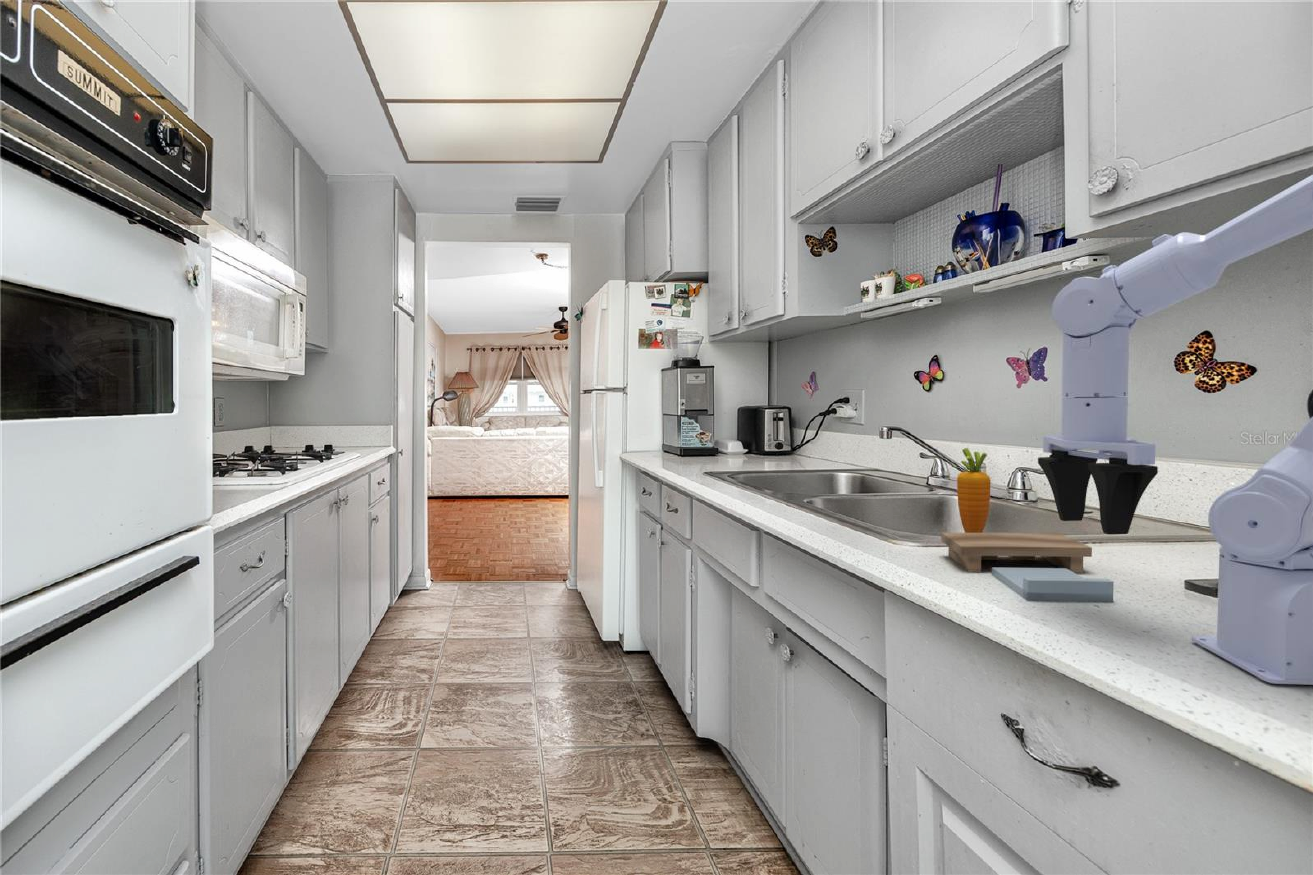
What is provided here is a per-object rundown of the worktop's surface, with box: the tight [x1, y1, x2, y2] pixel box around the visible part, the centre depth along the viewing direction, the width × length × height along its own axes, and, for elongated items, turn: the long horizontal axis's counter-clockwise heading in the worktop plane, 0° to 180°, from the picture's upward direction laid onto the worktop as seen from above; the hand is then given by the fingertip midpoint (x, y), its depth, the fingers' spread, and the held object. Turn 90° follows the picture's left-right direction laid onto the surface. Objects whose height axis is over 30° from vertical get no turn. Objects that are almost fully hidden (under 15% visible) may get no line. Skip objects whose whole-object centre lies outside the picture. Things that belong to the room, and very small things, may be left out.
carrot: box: [956, 447, 991, 533], centre depth 103 cm, size 5×5×15 cm
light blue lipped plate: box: [991, 567, 1114, 603], centre depth 80 cm, size 11×9×3 cm
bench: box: [940, 532, 1093, 574], centre depth 90 cm, size 9×16×3 cm, turn 82°
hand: (1092, 526), depth 69 cm, fingers open, 6 cm apart
